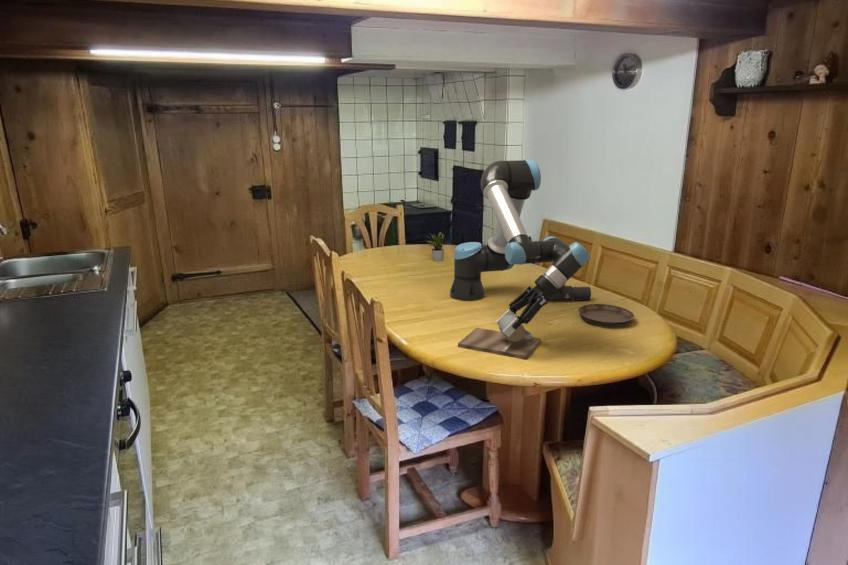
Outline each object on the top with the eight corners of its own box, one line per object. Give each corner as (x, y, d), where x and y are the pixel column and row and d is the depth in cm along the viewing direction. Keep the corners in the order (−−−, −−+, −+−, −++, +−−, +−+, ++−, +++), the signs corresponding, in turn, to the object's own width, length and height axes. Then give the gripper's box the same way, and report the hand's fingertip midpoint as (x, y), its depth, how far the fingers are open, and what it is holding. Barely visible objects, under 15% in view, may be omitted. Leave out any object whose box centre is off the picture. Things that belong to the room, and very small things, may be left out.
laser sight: (592, 303, 233) (593, 280, 230) (539, 304, 233) (540, 281, 230) (584, 296, 243) (586, 274, 240) (534, 297, 242) (535, 275, 239)
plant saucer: (645, 326, 207) (646, 317, 206) (597, 332, 201) (597, 323, 200) (612, 309, 226) (612, 301, 225) (567, 314, 220) (568, 306, 219)
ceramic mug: (504, 344, 183) (506, 322, 181) (497, 335, 191) (499, 314, 189) (535, 342, 185) (537, 321, 183) (527, 334, 192) (528, 313, 190)
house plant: (426, 256, 318) (426, 228, 314) (450, 257, 316) (450, 229, 312) (423, 262, 305) (423, 233, 300) (448, 263, 303) (448, 233, 298)
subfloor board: (457, 346, 188) (457, 342, 187) (476, 330, 202) (476, 327, 202) (526, 359, 177) (526, 355, 177) (540, 341, 192) (540, 337, 191)
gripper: (569, 298, 175) (518, 348, 177) (546, 280, 195) (501, 325, 197) (554, 282, 173) (503, 333, 175) (532, 266, 193) (486, 312, 195)
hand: (502, 329), depth 186 cm, fingers closed on ceramic mug, 8 cm apart
